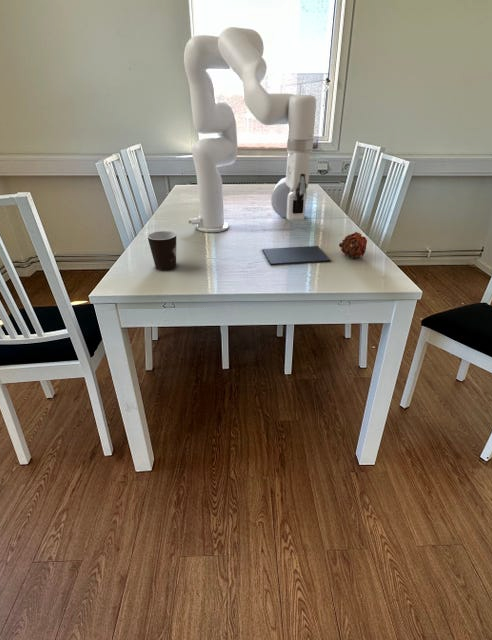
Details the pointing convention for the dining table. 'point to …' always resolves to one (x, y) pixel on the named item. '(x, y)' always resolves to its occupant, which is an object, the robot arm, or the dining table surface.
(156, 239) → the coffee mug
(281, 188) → the grey egg shape
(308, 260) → the mat
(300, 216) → the eye dropper bottle
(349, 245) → the dragon fruit
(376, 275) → the dining table surface
